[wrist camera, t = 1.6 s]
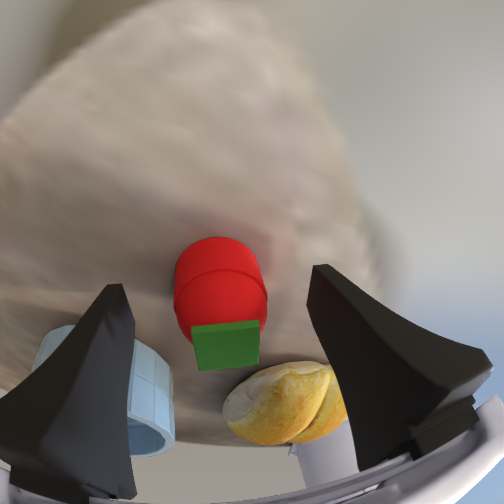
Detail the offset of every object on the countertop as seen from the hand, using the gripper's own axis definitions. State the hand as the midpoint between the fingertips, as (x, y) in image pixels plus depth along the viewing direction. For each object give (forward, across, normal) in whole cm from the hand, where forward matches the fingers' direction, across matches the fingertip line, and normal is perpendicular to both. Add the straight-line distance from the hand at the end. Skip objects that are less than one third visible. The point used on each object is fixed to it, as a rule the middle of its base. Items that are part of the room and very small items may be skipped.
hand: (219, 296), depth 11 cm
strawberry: (+2, 0, 0) cm, 2 cm away
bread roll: (+2, -4, +11) cm, 12 cm away
